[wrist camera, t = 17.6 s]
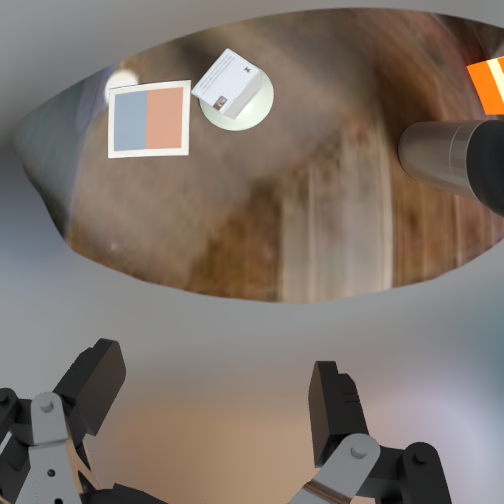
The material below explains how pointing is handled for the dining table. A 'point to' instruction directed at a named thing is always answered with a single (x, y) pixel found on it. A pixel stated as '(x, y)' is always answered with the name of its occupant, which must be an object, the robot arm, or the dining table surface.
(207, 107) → the coaster
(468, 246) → the dining table surface
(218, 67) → the skincare box
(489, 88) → the orange juice
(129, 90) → the blue and orange card
